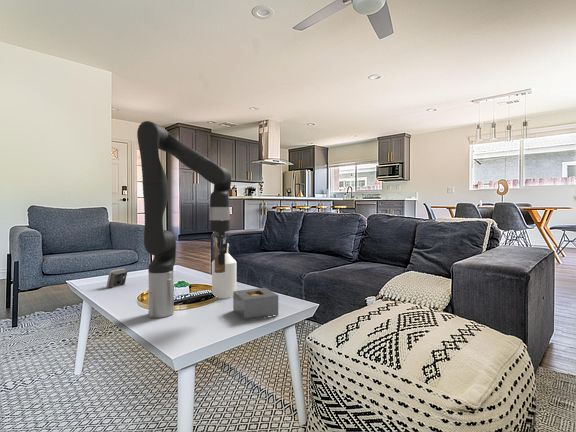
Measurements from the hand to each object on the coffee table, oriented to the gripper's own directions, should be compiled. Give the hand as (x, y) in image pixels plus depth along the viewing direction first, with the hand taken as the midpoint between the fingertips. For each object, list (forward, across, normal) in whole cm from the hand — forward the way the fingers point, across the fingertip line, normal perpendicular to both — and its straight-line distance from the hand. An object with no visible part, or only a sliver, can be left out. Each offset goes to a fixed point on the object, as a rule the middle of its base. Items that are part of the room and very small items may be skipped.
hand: (219, 263), depth 125 cm
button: (+20, +1, +14) cm, 24 cm away
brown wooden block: (+3, 0, 0) cm, 3 cm away
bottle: (+21, -31, +10) cm, 39 cm away
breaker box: (+21, +1, +14) cm, 25 cm away
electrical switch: (+21, -75, -37) cm, 86 cm away
